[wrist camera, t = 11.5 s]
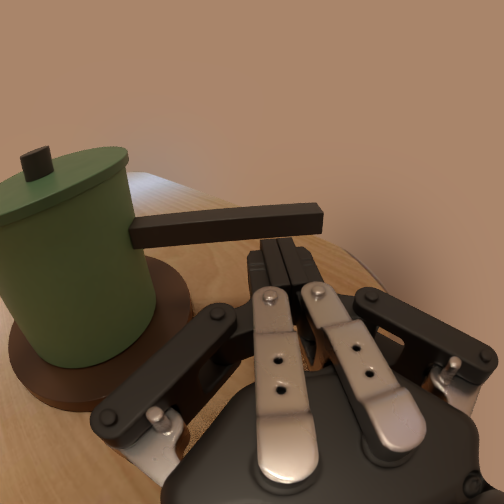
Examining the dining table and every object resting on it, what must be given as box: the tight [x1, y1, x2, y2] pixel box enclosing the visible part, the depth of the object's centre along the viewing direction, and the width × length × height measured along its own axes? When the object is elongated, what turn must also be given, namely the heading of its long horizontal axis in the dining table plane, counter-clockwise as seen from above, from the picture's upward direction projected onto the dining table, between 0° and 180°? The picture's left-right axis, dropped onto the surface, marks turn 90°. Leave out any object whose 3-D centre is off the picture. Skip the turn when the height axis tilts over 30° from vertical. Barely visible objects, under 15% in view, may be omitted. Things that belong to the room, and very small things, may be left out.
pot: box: [0, 146, 324, 368], centre depth 16 cm, size 22×12×12 cm, turn 96°
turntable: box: [8, 256, 193, 412], centre depth 20 cm, size 16×16×1 cm
